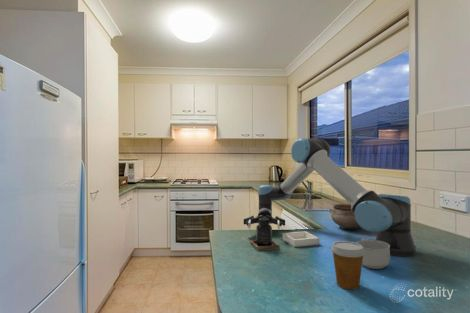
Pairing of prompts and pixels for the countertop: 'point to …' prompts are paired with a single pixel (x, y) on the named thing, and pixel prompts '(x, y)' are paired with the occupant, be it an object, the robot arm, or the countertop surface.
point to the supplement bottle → (264, 232)
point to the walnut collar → (259, 248)
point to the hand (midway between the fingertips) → (263, 225)
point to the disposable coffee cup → (347, 263)
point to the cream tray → (300, 239)
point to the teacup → (375, 253)
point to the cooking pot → (344, 216)
